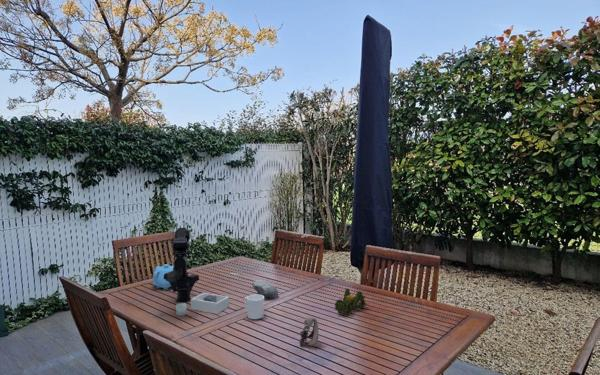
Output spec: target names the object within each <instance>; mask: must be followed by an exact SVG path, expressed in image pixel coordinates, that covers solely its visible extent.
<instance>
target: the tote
mask: <svg viewBox="0 0 600 375" xmlns="http://www.w3.org/2000/svg"><path fill="white" fill-rule="evenodd" d="M208 295H212V296H216V303H215V302H209V301H203V298H204V297H206V296H208ZM229 307H230V296H226V295H221V294H212V293H207V292H201V293H200V294H198V295H196V296H194V297H191V300H190V310H194V311H199V312H205V313H210V314H216V315H218V314H219V313H221V312H223V311H224V310H226V309H228V308H229Z"/></svg>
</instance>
